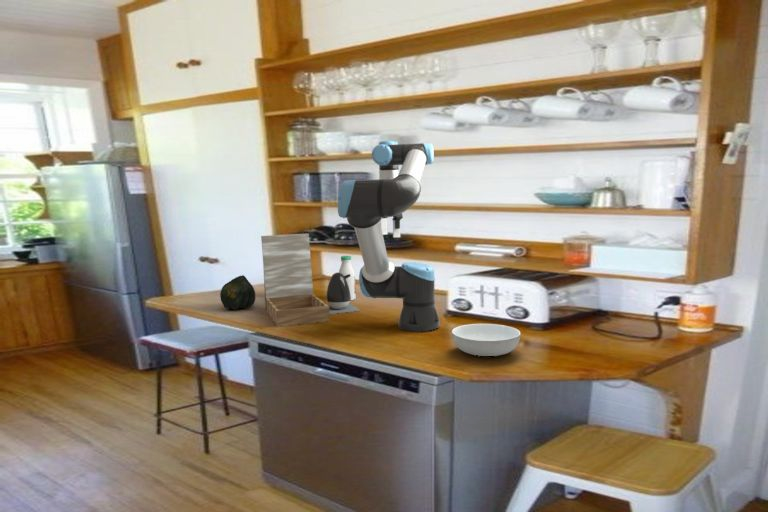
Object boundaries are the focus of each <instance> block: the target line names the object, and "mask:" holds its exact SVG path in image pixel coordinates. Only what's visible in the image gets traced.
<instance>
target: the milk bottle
mask: <svg viewBox="0 0 768 512" xmlns="http://www.w3.org/2000/svg"><path fill="white" fill-rule="evenodd" d="M351 261H352V256H351V255H342V256H340V262H341V265H340V267H339V269H338V273H342V274H343V275H344V276H345V275H348V274H350V275H351V276H350V277H348V278H346V281H347V283H348V286H349V290H350V295H351V301H355V300H356V298H357V297H356V295H357V294H356V273H355V270H354V268H353V265H352V262H351ZM354 299H355V300H354Z"/></svg>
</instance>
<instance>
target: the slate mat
mask: <svg viewBox="0 0 768 512" xmlns="http://www.w3.org/2000/svg"><path fill="white" fill-rule="evenodd" d="M327 305H328V304H327ZM328 306H329V305H328ZM354 311H358V312H360V311H361V309H359V308H358V307H357V306H355V305H353V304H352V303H349V305H348V306H347V307H346V308H344V309H332V308H331V307H330V306H329V314H330V315H337V313H339V314H346V312H348V313H355V312H354Z"/></svg>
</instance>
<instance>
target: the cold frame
mask: <svg viewBox="0 0 768 512" xmlns="http://www.w3.org/2000/svg"><path fill="white" fill-rule="evenodd" d="M260 238H261V251H262V265H263V266H262V267H263V269H262V270H263V282H264V283H263V284H264V285H263V286H264V303H265V304H264V305H265V310H266V309H267V310H266V314H267V313H268V314H269V315H270V316H269V315H268V314H267V315H268V316H269V318H270V317H271V318H272V319H271V318H270V319H271V320H272V322H273V321H274V322H275V323H274V322H273V323H274V325H275V326H276V325H277V326H276V328H279V327H278V326H283V327H289V326H288V325H292V326H299V325H298V324H301V325H308V324H309V323H310V324H317V323H316V322H319V323H325V322H326V321H328V322H330V315H329V306H328V303H326V302H324V301H323V300H322V299H321V298H319V297H317V295H315V294H314V284H313V273H312V270H313V269H312V259H311V257H312V256H311V248H310V233H294V234H293V233H292V234H289V233H288V234H276V235H275V234H273V235H261V237H260Z"/></svg>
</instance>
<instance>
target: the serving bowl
mask: <svg viewBox="0 0 768 512" xmlns="http://www.w3.org/2000/svg"><path fill="white" fill-rule="evenodd" d="M451 338H452V341H453V344H455V346H456V347H457V348H458V349H459V350H461V351H462V352H464V353H467V354H469V355H473V356H476V355H478V356H477V357H480V356H494V357H498V356H502V355H507V354H508V353H510V352H512V351H514V349H516V348H517V346H518V345H519V342H520V340H521V331H520V330H519V329H517V328H515V327H513V326H509V325H508V326H507V325H503V324H497V323H495V324H494V323H472V324H471V323H470V324H464V325H463V324H462V325H459V326H456V327H454V328H452V330H451Z"/></svg>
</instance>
